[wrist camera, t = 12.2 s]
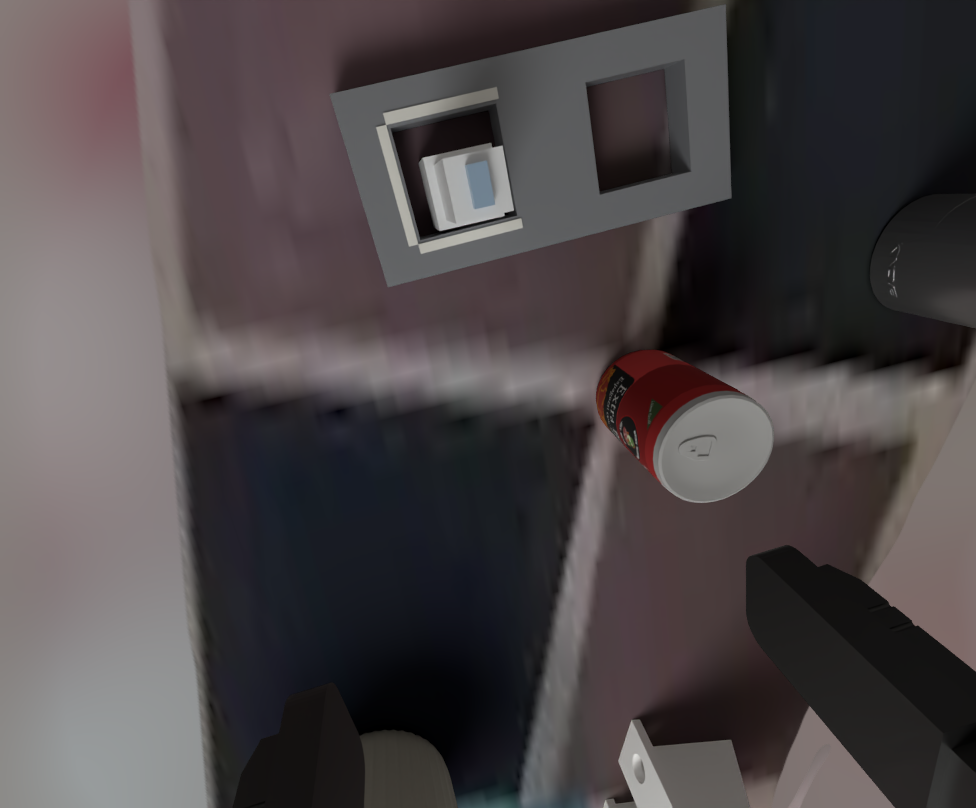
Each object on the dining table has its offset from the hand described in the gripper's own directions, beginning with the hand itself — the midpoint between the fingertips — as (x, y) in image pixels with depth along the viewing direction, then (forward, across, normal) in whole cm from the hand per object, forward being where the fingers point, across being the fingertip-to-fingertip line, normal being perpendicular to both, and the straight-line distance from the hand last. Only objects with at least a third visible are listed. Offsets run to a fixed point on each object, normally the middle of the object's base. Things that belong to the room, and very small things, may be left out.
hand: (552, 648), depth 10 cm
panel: (+30, -10, -9) cm, 32 cm away
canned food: (+30, -15, +10) cm, 35 cm away
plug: (+30, -4, -8) cm, 31 cm away
